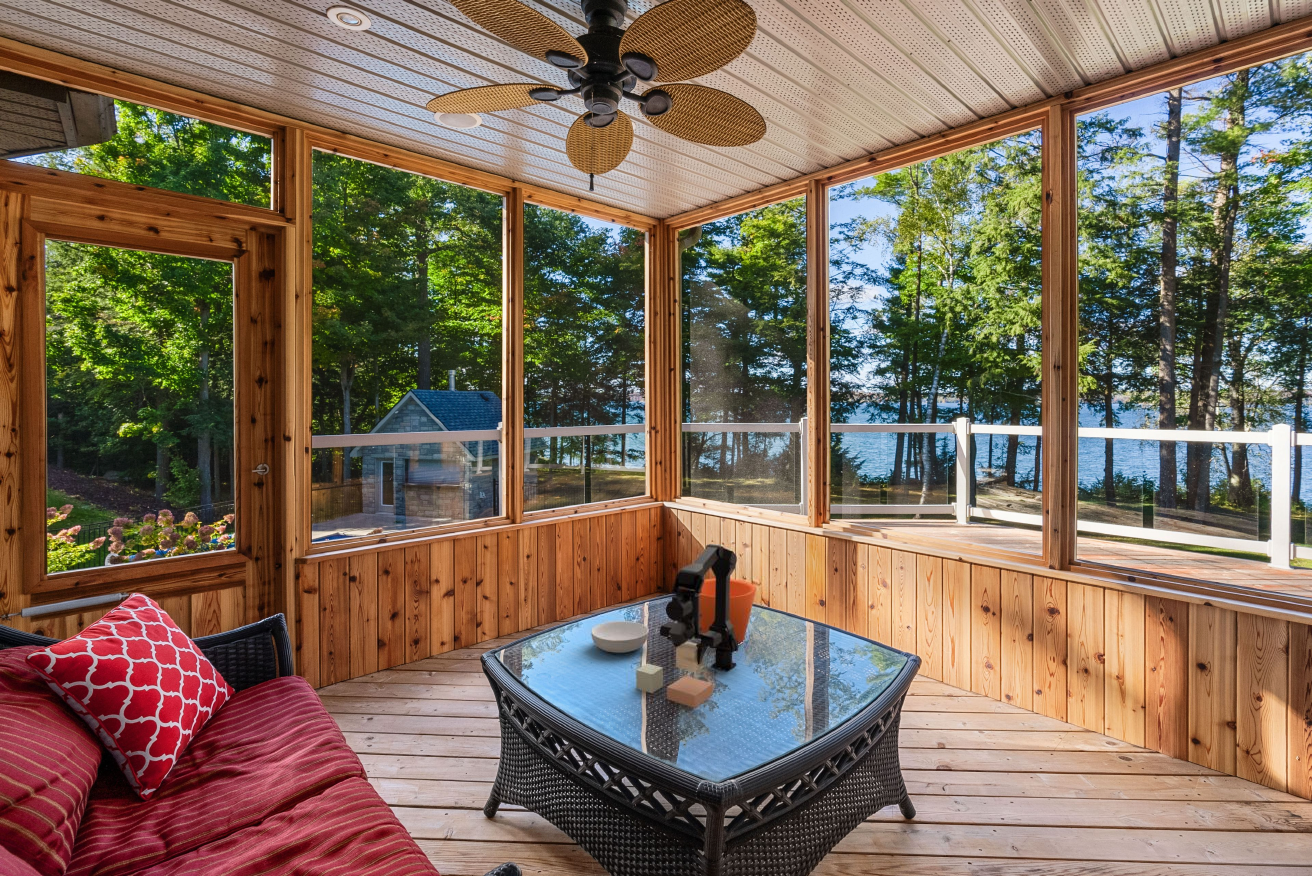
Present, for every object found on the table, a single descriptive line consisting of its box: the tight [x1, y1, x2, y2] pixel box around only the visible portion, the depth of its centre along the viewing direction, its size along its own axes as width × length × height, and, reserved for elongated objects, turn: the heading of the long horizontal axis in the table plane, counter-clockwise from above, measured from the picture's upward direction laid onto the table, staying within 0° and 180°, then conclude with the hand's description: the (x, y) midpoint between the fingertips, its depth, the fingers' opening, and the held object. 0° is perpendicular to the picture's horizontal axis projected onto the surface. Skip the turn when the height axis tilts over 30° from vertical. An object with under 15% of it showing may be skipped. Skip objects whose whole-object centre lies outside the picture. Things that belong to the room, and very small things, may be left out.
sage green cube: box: [635, 663, 664, 694], centre depth 202 cm, size 6×6×6 cm
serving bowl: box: [590, 620, 650, 654], centre depth 235 cm, size 21×21×7 cm
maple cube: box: [675, 641, 705, 673], centre depth 195 cm, size 6×6×6 cm
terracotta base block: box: [666, 675, 714, 709], centre depth 196 cm, size 10×10×4 cm
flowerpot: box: [699, 578, 757, 645], centre depth 243 cm, size 25×25×20 cm
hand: (689, 661), depth 195 cm, fingers closed on maple cube, 6 cm apart
